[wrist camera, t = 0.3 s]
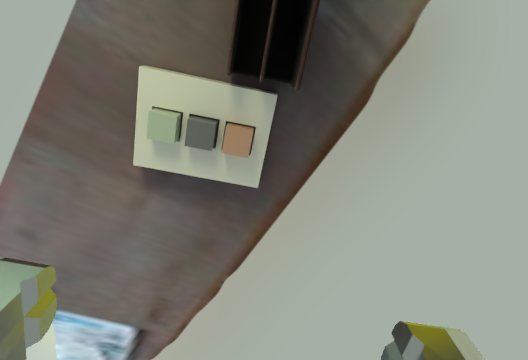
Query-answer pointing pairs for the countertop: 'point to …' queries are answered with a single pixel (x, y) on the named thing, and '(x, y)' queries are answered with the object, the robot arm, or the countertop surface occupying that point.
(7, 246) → the countertop surface
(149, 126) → the sage key
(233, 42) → the letter holder
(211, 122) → the charcoal key
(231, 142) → the terracotta key
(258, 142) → the cream key base
